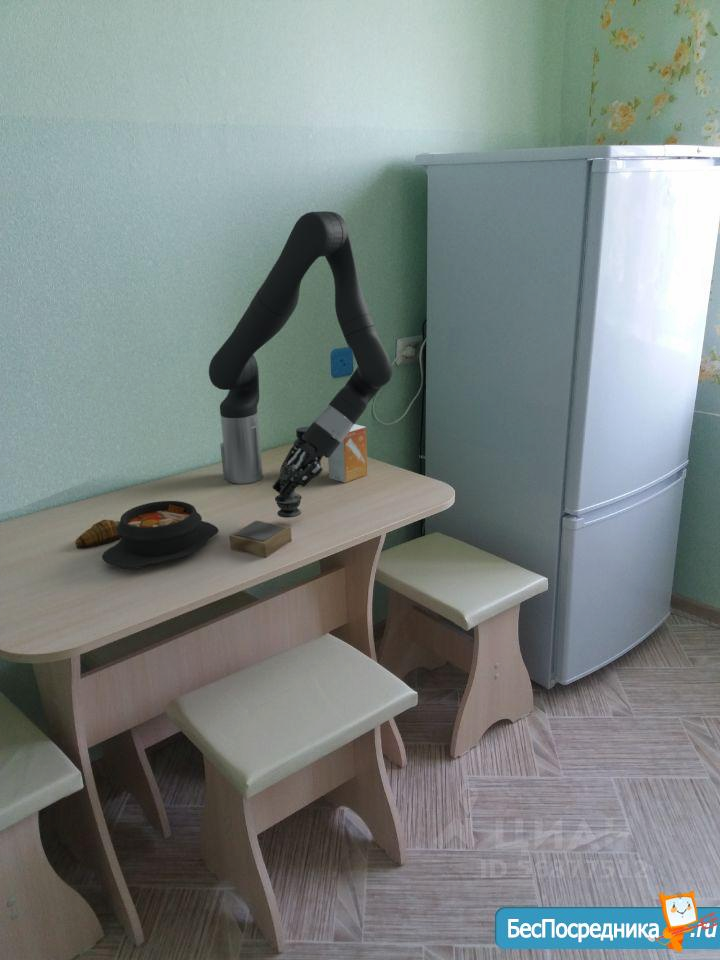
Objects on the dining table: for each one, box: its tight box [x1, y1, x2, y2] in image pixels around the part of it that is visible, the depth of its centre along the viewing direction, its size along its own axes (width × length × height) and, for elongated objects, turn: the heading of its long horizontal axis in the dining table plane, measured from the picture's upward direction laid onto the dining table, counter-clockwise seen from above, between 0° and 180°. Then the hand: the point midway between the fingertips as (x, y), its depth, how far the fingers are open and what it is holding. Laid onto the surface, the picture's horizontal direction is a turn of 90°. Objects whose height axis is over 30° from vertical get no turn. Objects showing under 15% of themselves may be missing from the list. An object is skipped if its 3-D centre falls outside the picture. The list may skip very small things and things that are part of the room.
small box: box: [327, 423, 368, 484], centre depth 199 cm, size 8×6×13 cm
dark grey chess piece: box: [274, 462, 303, 519], centre depth 171 cm, size 6×6×12 cm
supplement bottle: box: [292, 426, 322, 476], centre depth 203 cm, size 7×7×12 cm
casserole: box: [101, 500, 219, 569], centre depth 161 cm, size 25×19×8 cm
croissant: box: [74, 519, 122, 549], centre depth 168 cm, size 14×7×5 cm, turn 131°
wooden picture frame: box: [228, 520, 293, 558], centre depth 163 cm, size 9×9×3 cm
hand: (279, 493), depth 170 cm, fingers closed on dark grey chess piece, 3 cm apart
